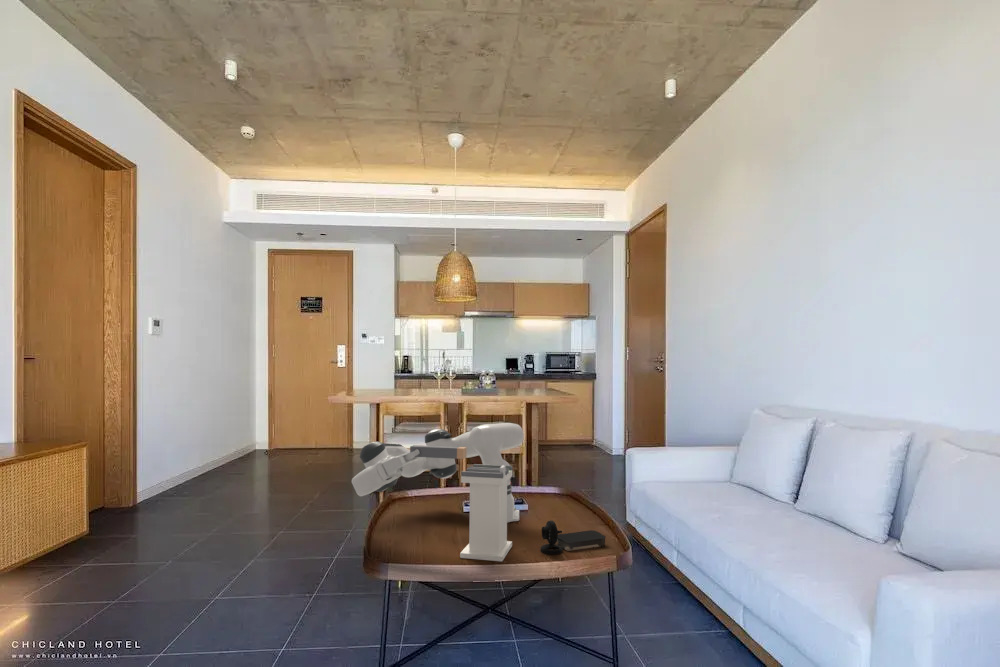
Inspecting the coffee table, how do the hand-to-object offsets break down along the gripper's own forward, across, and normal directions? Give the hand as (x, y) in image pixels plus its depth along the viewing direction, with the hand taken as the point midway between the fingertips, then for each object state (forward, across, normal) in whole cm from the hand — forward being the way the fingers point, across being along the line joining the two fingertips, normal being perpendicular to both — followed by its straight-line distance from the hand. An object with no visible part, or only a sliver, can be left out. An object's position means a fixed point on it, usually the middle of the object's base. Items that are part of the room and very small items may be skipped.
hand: (421, 450), depth 188 cm
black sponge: (+32, -10, -56) cm, 66 cm away
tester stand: (+6, +4, -41) cm, 41 cm away
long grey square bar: (+4, 0, -5) cm, 7 cm away
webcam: (+24, -2, -51) cm, 57 cm away
